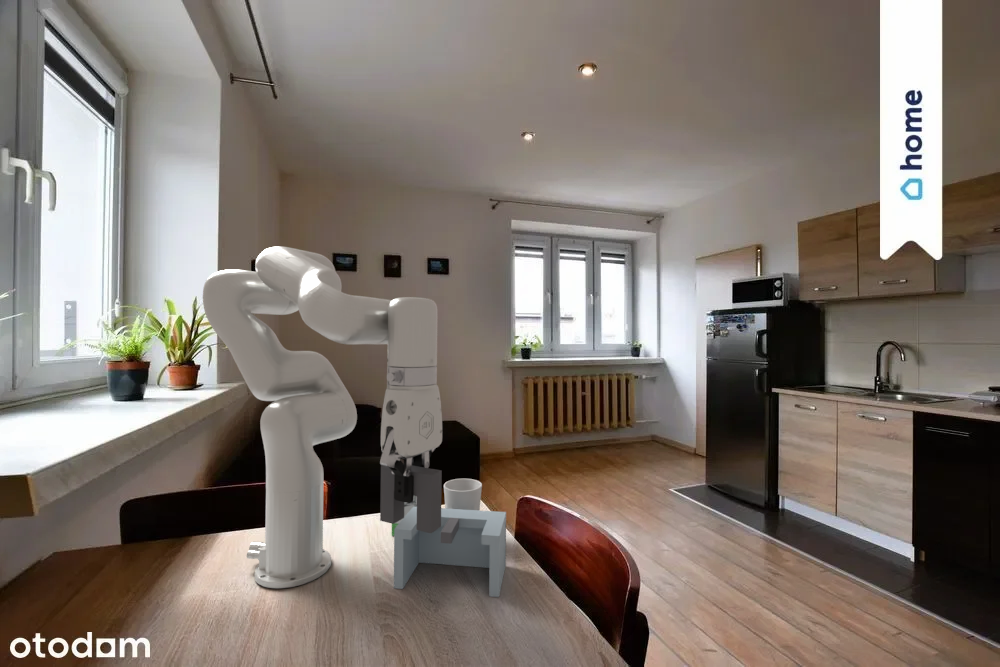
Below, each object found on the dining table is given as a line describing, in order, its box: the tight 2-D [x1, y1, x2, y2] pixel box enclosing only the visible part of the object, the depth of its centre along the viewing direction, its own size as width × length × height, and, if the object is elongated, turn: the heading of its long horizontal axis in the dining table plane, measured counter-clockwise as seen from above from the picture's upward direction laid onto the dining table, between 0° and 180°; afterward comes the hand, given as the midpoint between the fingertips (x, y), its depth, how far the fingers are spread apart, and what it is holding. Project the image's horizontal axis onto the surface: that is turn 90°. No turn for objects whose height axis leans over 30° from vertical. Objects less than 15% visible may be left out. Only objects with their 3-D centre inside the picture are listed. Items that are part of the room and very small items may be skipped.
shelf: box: [393, 507, 507, 598], centre depth 78 cm, size 18×10×10 cm, turn 83°
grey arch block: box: [379, 465, 443, 533], centre depth 67 cm, size 10×3×8 cm, turn 64°
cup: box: [443, 478, 483, 511], centre depth 91 cm, size 8×8×12 cm
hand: (410, 496), depth 67 cm, fingers closed on grey arch block, 2 cm apart
